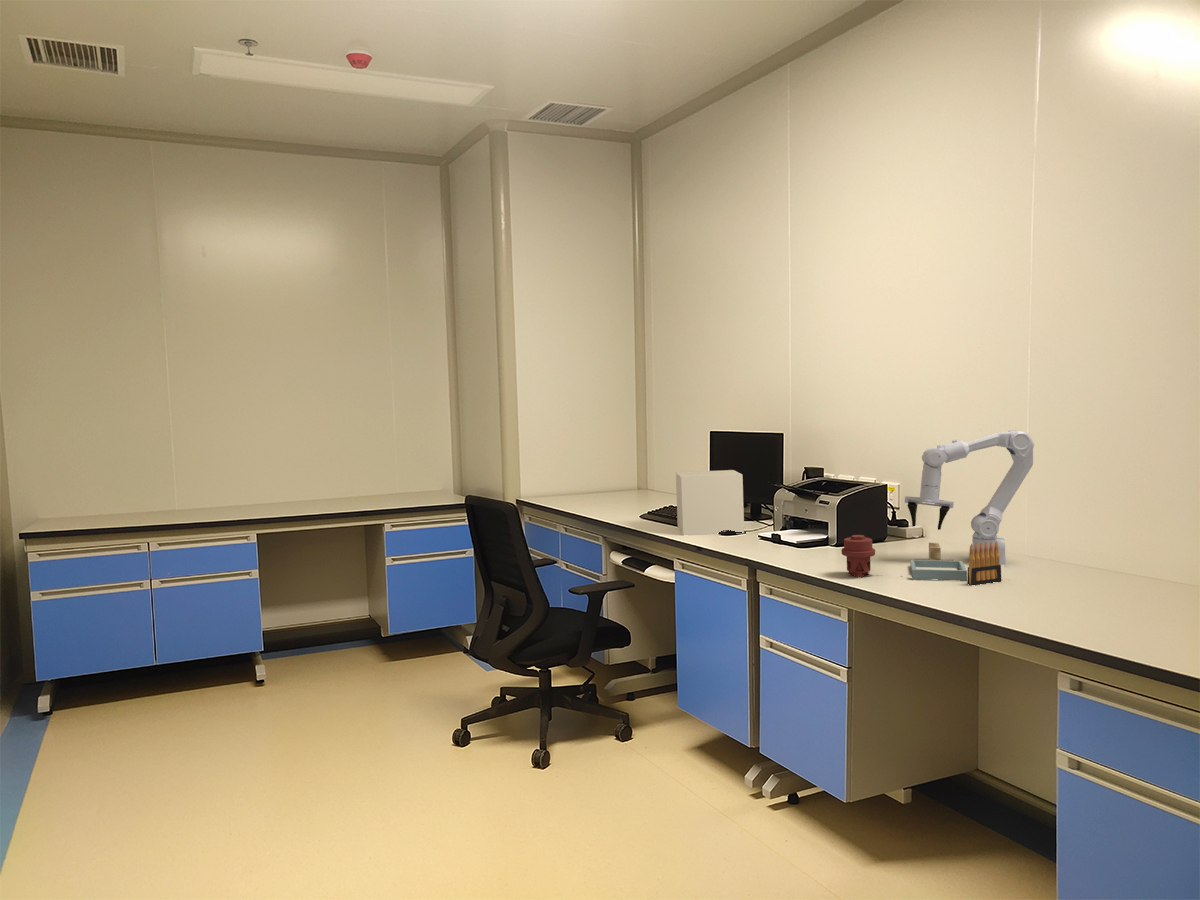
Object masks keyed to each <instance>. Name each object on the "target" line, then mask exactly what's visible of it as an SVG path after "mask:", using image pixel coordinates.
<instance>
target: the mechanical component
mask: <svg viewBox="0 0 1200 900" xmlns="http://www.w3.org/2000/svg"><path fill="white" fill-rule="evenodd" d="M843 545H844V546H843V547H842V548H841V550H840V551H841V555H842V556H844V557H846V571H847V572H848V575H849V574H851V575H850V576H853V575H855V576H854V577H856V576H857V577H856V578H858V577H861V578H863V577H864V576H867V575H866V574H868V575H869V572H870V571H871V568H872V567H871V558H872V557H874V556H876V549H875V548H873V539H872V538H870V537H866V536H865V535H864V534H853V535H850V536H849V537H846V538H844V539H843ZM863 575H864V576H863Z"/></svg>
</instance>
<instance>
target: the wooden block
mask: <svg viewBox="0 0 1200 900" xmlns="http://www.w3.org/2000/svg"><path fill="white" fill-rule="evenodd" d="M941 549H942V548H941V545H940V543H939V542H928V559H929V560H941V558H942V557H941V556H942V555H941V552H942V551H941Z"/></svg>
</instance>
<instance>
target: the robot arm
mask: <svg viewBox="0 0 1200 900" xmlns="http://www.w3.org/2000/svg"><path fill="white" fill-rule="evenodd" d="M992 447H1001V448H1006V450H1007V451H1008V452H1009V454H1010V456H1011V459H1012V462H1013V463H1012V464H1011V466H1010V468H1009V470H1008V471H1007V473H1006V474H1005V476H1004V478H1003V479H1002V480H1001V482H1000V484H999V486H998V487H997V489H996V491H995V492H994V494H993V495H992V496H991V498H990V500H989V502H988V503H987V504H986V505H985V506H984V508H982V509H981V511H980V512H979V513H978V514H977V515H975V516H974V517H972V519H971V522H970V527H971V529H972V530H973V534H972V543H971V544H972V545H973V548H974V550H975V545H976V543H977V544H978V548H979V549H980V544H981V543H982V544H983V547H985V543H986V542H987V544H988V548H989V546H990V543H991V542H992V543H993V547H994V546H995V542H996V541H997V542H998V547H999V556H1000V565H1001V566H1002V565H1003V566H1004V567H1005V568H1006V567H1007V566H1006V562H1007V561H1006V541H1005V538H1004V537H998V535H997V534H998V533H999V529H1000V524H1001V523H1002V520H1003V513H1004V512H1005V510H1006V509H1007V507H1008V506H1009V504H1010V503H1011V501H1012V499H1013V498H1014V496H1015V495H1016V493H1017V491H1018V490H1019V489H1020V487H1021V485H1022V484H1023V482H1024V480H1025V478H1026V477H1027V475H1029V472H1030V470H1031V469H1032V468H1033V465H1034V447H1035V444H1034V442H1033V439H1032V436H1031V435H1030V434H1029V433H1028V432H1026V431H1023V430H1022V431H1021V430H1020V431H1019V430H1016V429H1011V430H1007V431H1000V432H995V433H993V434H989V435H986V436H985V435H984V436H982V437H979V438H976V439H973V440H970V441H968V442H965V441H963V440H961V439H960V440H957V439H953V440H951V442H950V443H947V444H942V445H941V444H937V445H936V447H929V448H926V449H925V451H923V453H922V455H921V460H922V462H923V466H922V471H921V472H922V473H921V482H920V492H919V497H918V496H907V495H906V496H904V503H905V504H907V508H908V511H909V514H910V518H911V525H912V527H916V524H917V512H918V510H917V509H918V505H923V506H930V507H931V506H932V507H940V508H939V515H938V516H939V517H938V524H937V530H938V531H939V530H940V531H941V529H942V525H943V521H945V518H946V515H947V514H948V513H949V511H950V509H954V503H955V502H954V501H950V500H944V499H940V493H941V481H942V466H943V465H944V463H945V464H947V463H952V462H955V461H959V460H961V459H966V458H967V457H968V455H969V453H972V452H976V451H979V450H983V449H988V448H992Z"/></svg>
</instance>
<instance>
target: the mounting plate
mask: <svg viewBox="0 0 1200 900" xmlns="http://www.w3.org/2000/svg"><path fill="white" fill-rule="evenodd" d="M913 560H929V558H914V559H913ZM941 561H955V560H954V559H941Z"/></svg>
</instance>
